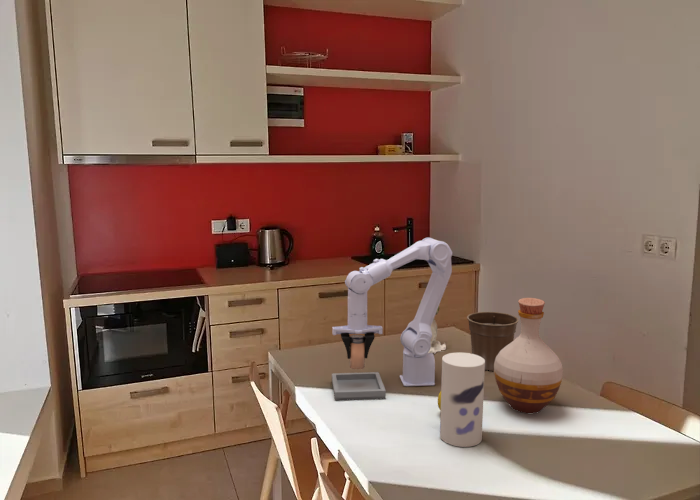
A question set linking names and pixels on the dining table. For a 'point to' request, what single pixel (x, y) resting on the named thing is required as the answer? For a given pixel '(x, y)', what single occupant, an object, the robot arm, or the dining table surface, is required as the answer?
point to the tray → (358, 386)
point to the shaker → (357, 351)
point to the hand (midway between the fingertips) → (357, 357)
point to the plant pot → (491, 334)
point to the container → (462, 399)
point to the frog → (435, 344)
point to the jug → (528, 364)
